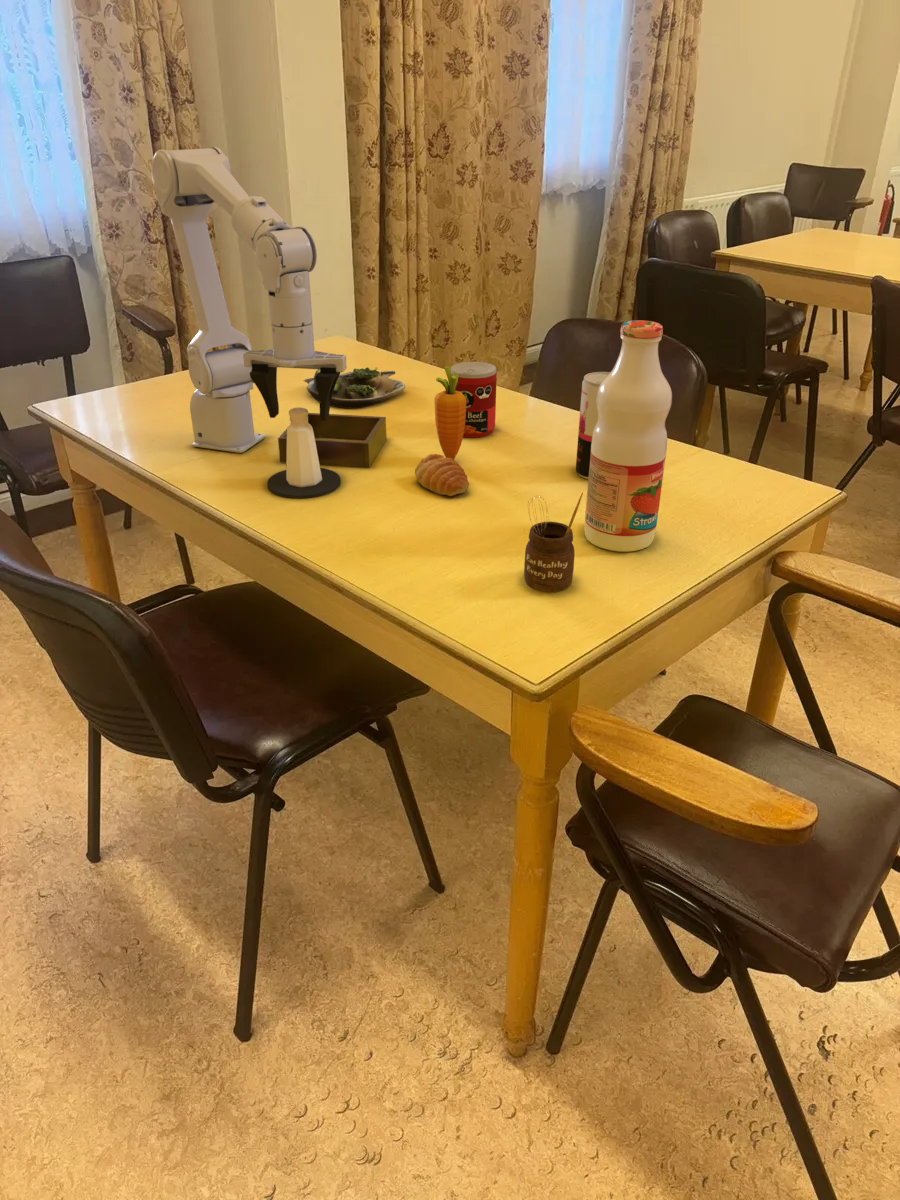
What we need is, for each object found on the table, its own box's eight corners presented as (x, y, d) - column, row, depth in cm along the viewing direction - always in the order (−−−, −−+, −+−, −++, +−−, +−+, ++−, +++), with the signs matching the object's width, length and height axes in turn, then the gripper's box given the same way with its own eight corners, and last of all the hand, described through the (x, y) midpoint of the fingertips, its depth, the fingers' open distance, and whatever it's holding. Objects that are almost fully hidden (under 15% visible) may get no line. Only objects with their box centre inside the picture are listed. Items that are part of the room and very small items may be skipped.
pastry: (480, 492, 132) (480, 468, 130) (441, 502, 129) (441, 478, 127) (447, 471, 139) (447, 448, 137) (409, 480, 136) (409, 457, 134)
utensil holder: (528, 567, 112) (533, 478, 106) (578, 574, 111) (586, 484, 105) (518, 589, 107) (522, 498, 101) (570, 597, 106) (577, 505, 100)
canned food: (443, 435, 153) (443, 371, 148) (460, 420, 160) (461, 359, 154) (485, 441, 151) (486, 376, 145) (501, 426, 157) (503, 363, 152)
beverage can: (571, 478, 137) (578, 382, 129) (580, 463, 142) (588, 369, 135) (613, 484, 135) (623, 386, 127) (621, 468, 140) (631, 374, 133)
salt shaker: (308, 470, 138) (302, 401, 132) (329, 480, 135) (324, 409, 129) (278, 480, 135) (271, 409, 129) (300, 490, 131) (294, 418, 126)
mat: (253, 492, 132) (253, 489, 132) (288, 466, 141) (288, 463, 141) (321, 502, 129) (321, 499, 129) (352, 474, 138) (352, 471, 138)
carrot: (462, 469, 140) (463, 374, 132) (431, 466, 141) (430, 372, 133) (468, 457, 144) (469, 365, 137) (438, 455, 145) (437, 363, 138)
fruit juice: (592, 517, 125) (611, 312, 111) (660, 528, 122) (688, 319, 108) (575, 546, 117) (593, 330, 103) (647, 558, 114) (676, 337, 100)
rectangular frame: (280, 462, 142) (277, 438, 140) (303, 434, 153) (301, 412, 151) (369, 467, 140) (368, 443, 138) (386, 439, 151) (385, 416, 149)
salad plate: (369, 371, 185) (368, 349, 183) (427, 390, 174) (427, 367, 172) (292, 391, 174) (290, 368, 171) (349, 413, 163) (348, 388, 160)
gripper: (231, 327, 121) (242, 423, 128) (334, 332, 119) (340, 429, 126) (249, 315, 127) (259, 407, 134) (348, 319, 125) (353, 413, 132)
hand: (299, 417), depth 131 cm, fingers open, 7 cm apart
